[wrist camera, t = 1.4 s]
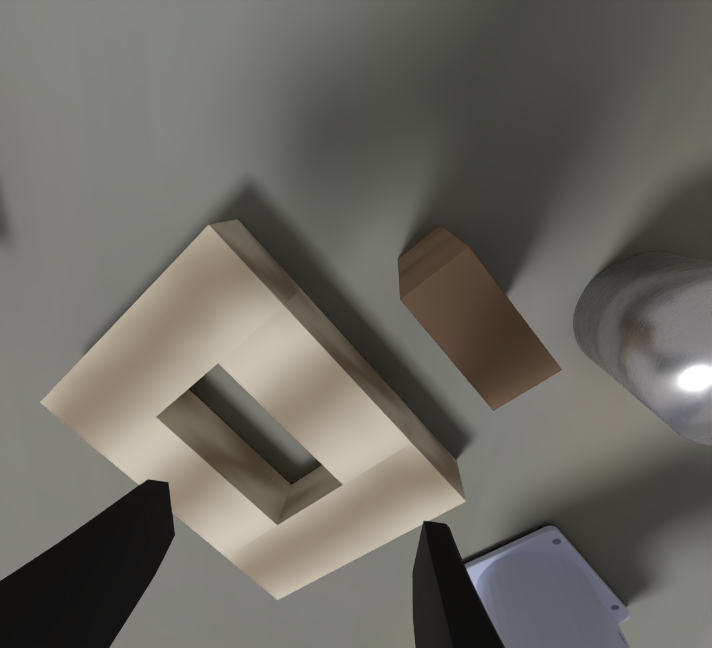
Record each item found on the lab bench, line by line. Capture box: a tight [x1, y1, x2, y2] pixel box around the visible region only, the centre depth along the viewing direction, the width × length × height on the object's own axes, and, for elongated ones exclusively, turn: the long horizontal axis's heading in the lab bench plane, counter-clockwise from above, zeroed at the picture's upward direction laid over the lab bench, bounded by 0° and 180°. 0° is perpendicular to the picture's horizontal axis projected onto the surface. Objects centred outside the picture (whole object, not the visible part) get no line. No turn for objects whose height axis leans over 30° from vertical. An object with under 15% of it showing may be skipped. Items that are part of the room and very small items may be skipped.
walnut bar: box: [398, 225, 562, 411], centre depth 15 cm, size 5×2×7 cm, turn 41°
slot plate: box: [40, 219, 466, 600], centre depth 20 cm, size 18×14×3 cm
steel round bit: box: [573, 252, 712, 446], centre depth 15 cm, size 6×6×6 cm
